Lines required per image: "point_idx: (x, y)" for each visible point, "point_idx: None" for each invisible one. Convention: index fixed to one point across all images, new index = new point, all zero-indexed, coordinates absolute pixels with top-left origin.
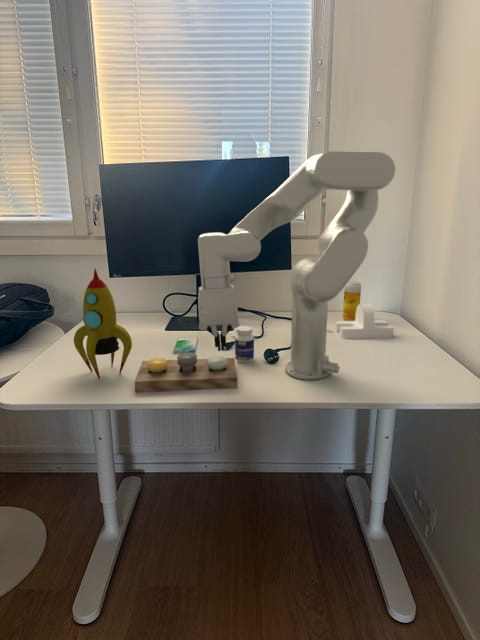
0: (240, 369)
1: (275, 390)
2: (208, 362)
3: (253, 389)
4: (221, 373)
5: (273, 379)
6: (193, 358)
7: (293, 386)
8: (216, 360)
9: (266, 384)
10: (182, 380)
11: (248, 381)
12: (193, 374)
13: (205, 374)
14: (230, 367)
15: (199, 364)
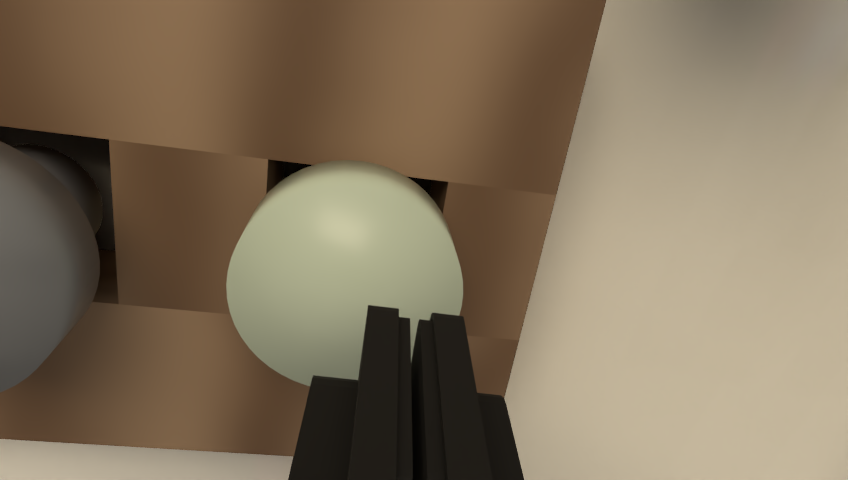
0: (608, 58)
1: (696, 462)
2: (240, 326)
3: (571, 431)
4: None
5: (771, 318)
6: (23, 373)
7: (828, 433)
8: (337, 315)
9: (684, 381)
10: (13, 432)
11: (584, 316)
12: (102, 358)
13: (221, 376)
14: (484, 268)
15: (150, 116)
